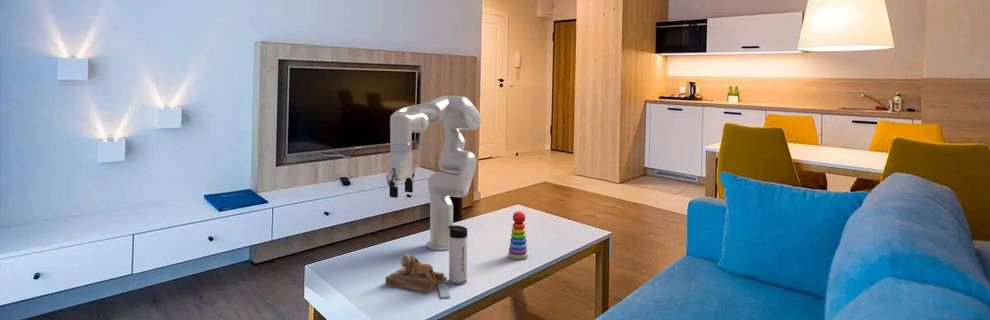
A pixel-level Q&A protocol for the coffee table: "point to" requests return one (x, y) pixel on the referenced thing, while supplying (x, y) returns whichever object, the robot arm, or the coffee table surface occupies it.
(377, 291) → the coffee table surface
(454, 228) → the travel mug
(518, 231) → the stacking toy
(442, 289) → the plank
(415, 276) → the lion figurine
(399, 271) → the cradle jig
